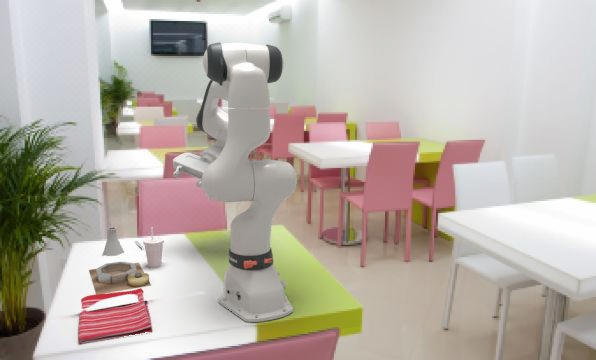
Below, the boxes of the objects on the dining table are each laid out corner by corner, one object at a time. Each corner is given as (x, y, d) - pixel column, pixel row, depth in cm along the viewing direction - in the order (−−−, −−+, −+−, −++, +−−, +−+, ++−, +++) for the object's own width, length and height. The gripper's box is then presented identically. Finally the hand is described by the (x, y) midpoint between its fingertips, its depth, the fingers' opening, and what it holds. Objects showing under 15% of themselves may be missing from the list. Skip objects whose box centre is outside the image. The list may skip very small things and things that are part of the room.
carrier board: (151, 289, 148) (151, 276, 147) (96, 298, 141) (95, 285, 140) (138, 266, 165) (138, 254, 164) (89, 273, 158) (88, 261, 157)
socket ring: (138, 279, 151) (138, 272, 151) (99, 286, 146) (99, 278, 146) (132, 267, 161) (132, 259, 160) (95, 273, 156) (94, 265, 155)
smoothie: (140, 270, 161) (138, 228, 158) (152, 263, 167) (151, 222, 164) (156, 273, 159) (154, 230, 156) (169, 266, 165) (167, 225, 162)
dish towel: (145, 295, 145) (144, 286, 144) (154, 334, 123) (153, 324, 123) (80, 304, 139) (79, 295, 138) (77, 347, 117) (76, 336, 117)
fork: (138, 239, 193) (138, 234, 192) (154, 259, 172) (153, 254, 172) (129, 240, 191) (129, 235, 191) (144, 261, 171) (144, 256, 170)
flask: (117, 260, 169) (115, 232, 167) (97, 258, 171) (95, 230, 169) (128, 253, 176) (127, 225, 174) (109, 251, 178) (107, 224, 176)
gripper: (187, 144, 177) (160, 162, 167) (235, 162, 170) (211, 182, 160) (188, 159, 181) (162, 178, 171) (236, 177, 174) (211, 198, 164)
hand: (186, 180), depth 165 cm, fingers open, 8 cm apart
